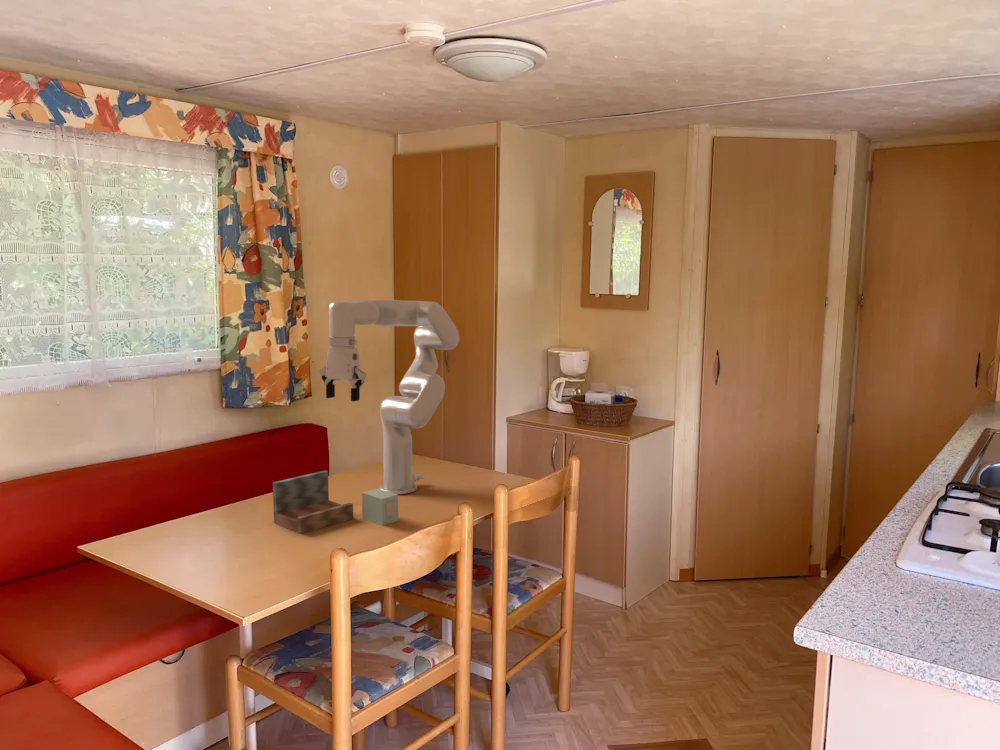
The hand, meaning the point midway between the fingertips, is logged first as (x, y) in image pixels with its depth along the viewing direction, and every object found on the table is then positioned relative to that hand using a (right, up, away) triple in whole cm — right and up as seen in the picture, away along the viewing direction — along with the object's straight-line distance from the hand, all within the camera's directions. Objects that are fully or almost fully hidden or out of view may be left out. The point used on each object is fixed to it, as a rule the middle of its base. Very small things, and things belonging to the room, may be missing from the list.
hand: (342, 399), depth 235 cm
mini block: (+12, -35, -6) cm, 38 cm away
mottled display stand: (-7, -35, -8) cm, 37 cm away
